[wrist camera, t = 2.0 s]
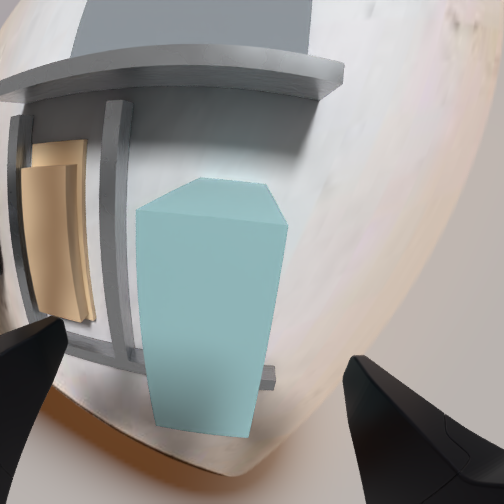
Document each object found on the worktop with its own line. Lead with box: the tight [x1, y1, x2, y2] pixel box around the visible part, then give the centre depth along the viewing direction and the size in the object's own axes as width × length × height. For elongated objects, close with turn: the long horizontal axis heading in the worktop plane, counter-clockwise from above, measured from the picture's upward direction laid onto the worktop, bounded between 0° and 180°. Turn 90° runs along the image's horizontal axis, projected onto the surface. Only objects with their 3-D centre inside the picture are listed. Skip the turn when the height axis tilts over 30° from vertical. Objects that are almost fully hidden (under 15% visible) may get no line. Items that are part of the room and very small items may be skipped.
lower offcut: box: [32, 139, 96, 321], centre depth 16 cm, size 4×12×1 cm, turn 174°
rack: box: [0, 44, 344, 390], centre depth 14 cm, size 19×19×4 cm
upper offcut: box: [21, 164, 89, 323], centre depth 15 cm, size 4×10×1 cm, turn 174°
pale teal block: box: [136, 177, 288, 438], centre depth 12 cm, size 4×8×9 cm, turn 173°
